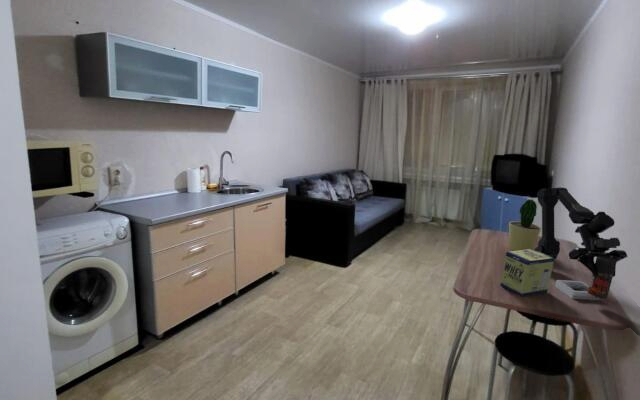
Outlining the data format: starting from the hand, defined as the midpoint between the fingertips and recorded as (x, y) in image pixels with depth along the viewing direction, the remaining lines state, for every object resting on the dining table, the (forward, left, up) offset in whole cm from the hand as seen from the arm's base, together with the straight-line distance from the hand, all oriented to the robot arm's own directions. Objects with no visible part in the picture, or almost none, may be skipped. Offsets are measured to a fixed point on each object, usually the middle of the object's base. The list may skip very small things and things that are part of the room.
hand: (605, 275), depth 130 cm
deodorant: (-1, -1, -9) cm, 9 cm away
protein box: (+10, -23, -13) cm, 28 cm away
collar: (-7, -10, -13) cm, 18 cm away
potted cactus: (-38, -49, -13) cm, 63 cm away
